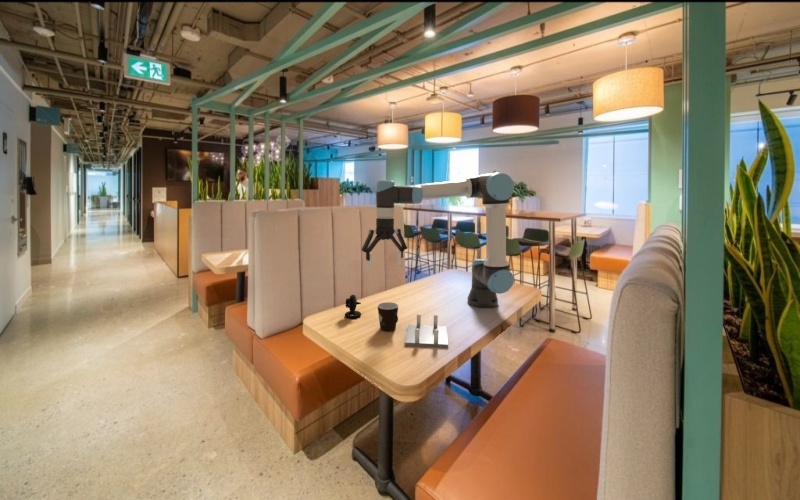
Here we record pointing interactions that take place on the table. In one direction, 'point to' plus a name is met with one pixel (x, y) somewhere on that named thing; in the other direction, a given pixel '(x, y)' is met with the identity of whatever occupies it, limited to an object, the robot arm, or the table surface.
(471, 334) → the table surface
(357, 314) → the webcam
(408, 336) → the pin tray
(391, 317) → the coffee mug
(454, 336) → the table surface
